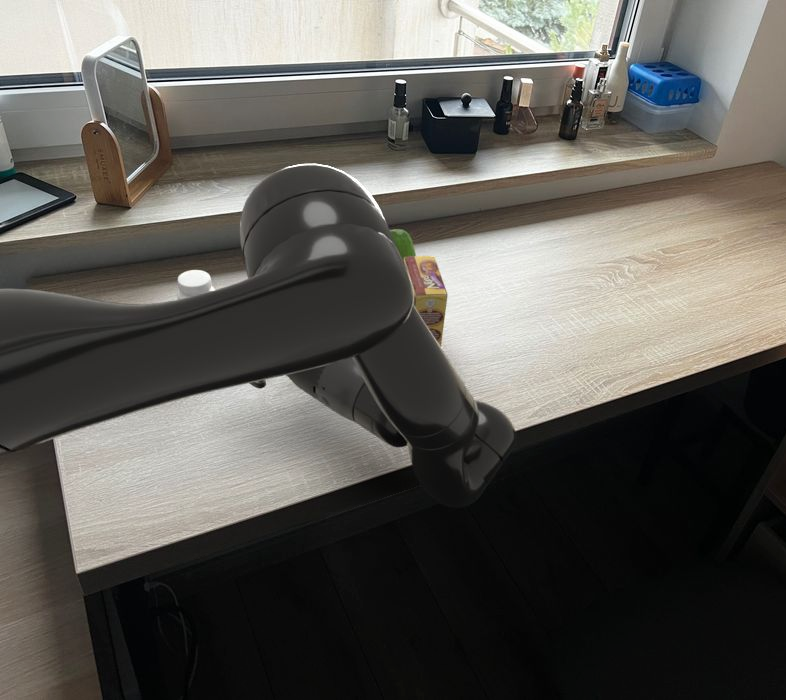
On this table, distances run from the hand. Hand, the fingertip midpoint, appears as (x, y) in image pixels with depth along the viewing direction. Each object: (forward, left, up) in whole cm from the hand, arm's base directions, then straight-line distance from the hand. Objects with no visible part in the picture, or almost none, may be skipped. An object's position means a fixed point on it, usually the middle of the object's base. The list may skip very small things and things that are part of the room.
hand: (245, 313), depth 84 cm
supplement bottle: (0, +13, -11) cm, 17 cm away
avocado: (+26, +5, -12) cm, 29 cm away
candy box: (+19, -10, -12) cm, 24 cm away
